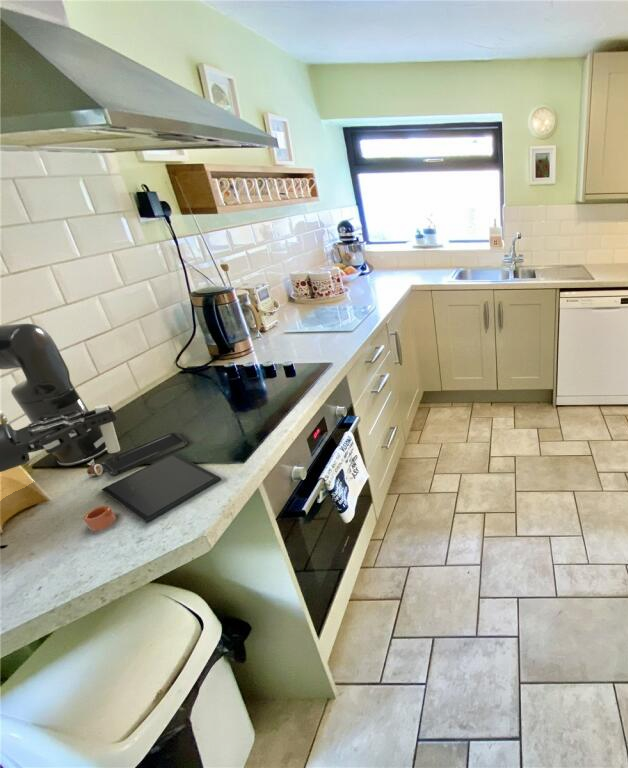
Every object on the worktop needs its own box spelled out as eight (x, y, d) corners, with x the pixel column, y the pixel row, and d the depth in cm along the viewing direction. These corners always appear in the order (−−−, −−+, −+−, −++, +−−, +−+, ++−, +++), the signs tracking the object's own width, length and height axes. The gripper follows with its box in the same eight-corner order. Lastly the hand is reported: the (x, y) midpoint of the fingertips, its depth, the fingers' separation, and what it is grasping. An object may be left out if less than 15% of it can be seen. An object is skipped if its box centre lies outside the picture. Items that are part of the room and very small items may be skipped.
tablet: (103, 492, 89) (100, 488, 89) (175, 456, 100) (174, 452, 99) (147, 524, 80) (144, 520, 79) (222, 480, 91) (220, 477, 90)
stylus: (109, 462, 82) (92, 406, 78) (121, 458, 83) (105, 403, 79) (113, 465, 81) (96, 408, 77) (125, 461, 82) (109, 405, 78)
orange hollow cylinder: (87, 527, 80) (79, 516, 79) (111, 514, 83) (104, 503, 81) (95, 535, 78) (87, 523, 77) (120, 521, 81) (112, 509, 80)
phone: (100, 462, 97) (174, 431, 107) (102, 466, 97) (176, 434, 108) (110, 474, 93) (187, 440, 103) (113, 478, 93) (188, 444, 104)
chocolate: (96, 471, 96) (87, 457, 94) (107, 470, 96) (98, 456, 94) (87, 480, 93) (78, 466, 91) (99, 478, 94) (89, 464, 92)
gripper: (-42, 452, 62) (108, 406, 74) (-35, 422, 71) (99, 385, 82) (-11, 491, 66) (128, 441, 77) (-8, 457, 74) (117, 417, 85)
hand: (112, 412), depth 79 cm, fingers closed on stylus, 2 cm apart
